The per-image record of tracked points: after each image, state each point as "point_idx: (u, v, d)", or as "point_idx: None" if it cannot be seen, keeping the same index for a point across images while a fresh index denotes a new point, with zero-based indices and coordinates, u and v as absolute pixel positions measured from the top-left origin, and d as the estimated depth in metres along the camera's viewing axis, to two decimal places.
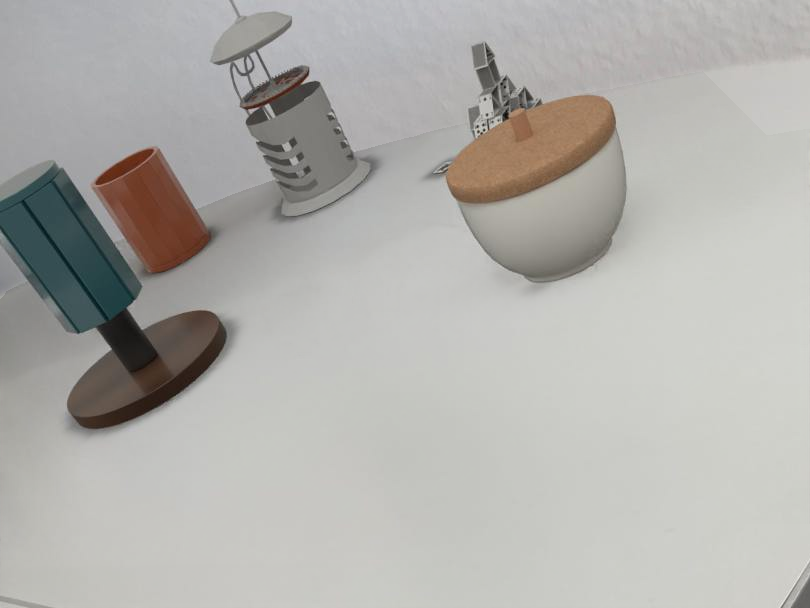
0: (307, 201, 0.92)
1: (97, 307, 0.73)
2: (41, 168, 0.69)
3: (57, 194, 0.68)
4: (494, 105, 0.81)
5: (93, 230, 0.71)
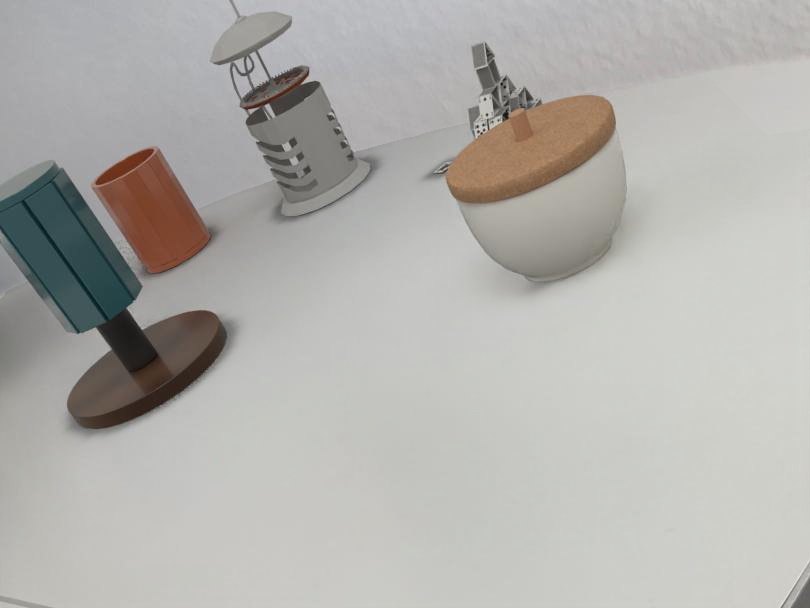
0: (307, 201, 0.92)
1: (97, 307, 0.73)
2: (41, 168, 0.69)
3: (57, 194, 0.68)
4: (494, 105, 0.81)
5: (93, 230, 0.71)
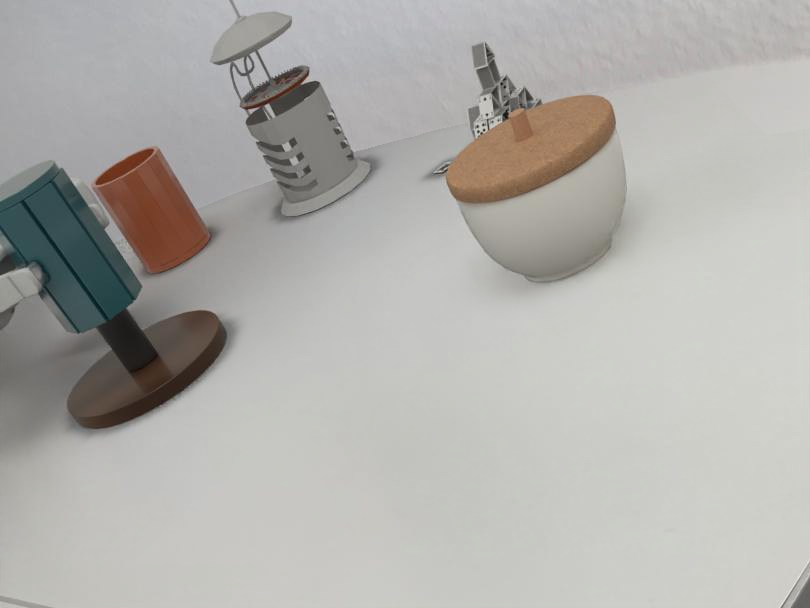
0: (307, 201, 0.92)
1: (97, 307, 0.73)
2: (41, 168, 0.69)
3: (57, 194, 0.68)
4: (494, 105, 0.81)
5: (93, 229, 0.71)
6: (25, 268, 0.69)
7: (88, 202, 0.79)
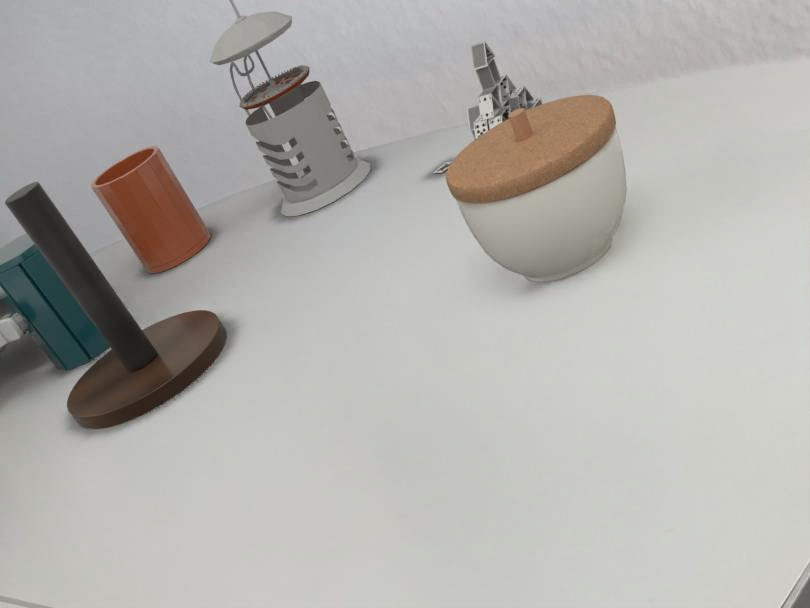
0: (307, 201, 0.92)
1: (81, 349, 0.87)
2: None
3: None
4: (494, 105, 0.81)
5: None
6: (9, 318, 0.83)
7: None
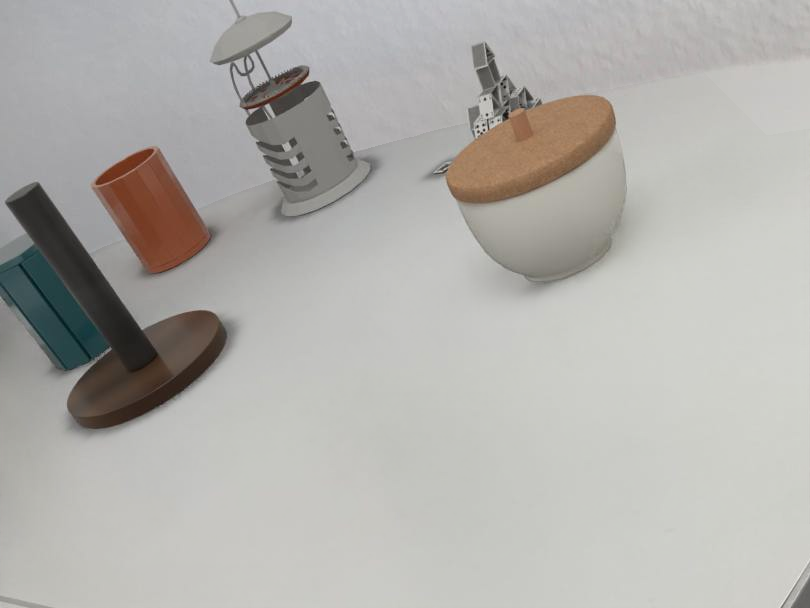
0: (307, 201, 0.92)
1: (81, 349, 0.87)
2: None
3: None
4: (494, 105, 0.81)
5: None
6: None
7: None
